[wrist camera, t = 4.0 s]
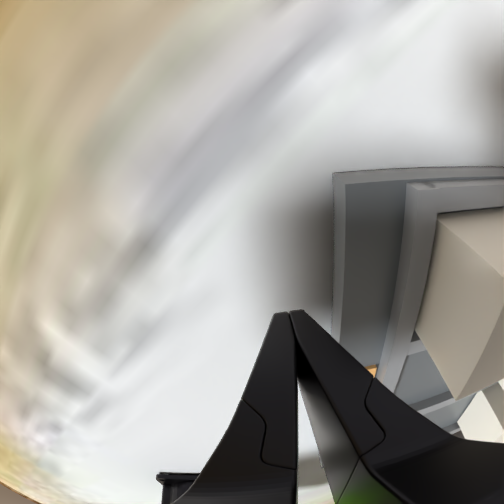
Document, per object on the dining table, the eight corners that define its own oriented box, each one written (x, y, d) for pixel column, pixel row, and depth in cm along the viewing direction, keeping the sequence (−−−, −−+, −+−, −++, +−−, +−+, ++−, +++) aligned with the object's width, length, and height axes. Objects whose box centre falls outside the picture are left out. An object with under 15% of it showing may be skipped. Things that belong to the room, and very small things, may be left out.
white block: (457, 421, 17) (475, 461, 14) (479, 387, 15) (504, 431, 11) (500, 400, 17) (519, 434, 14) (523, 365, 15) (547, 401, 11)
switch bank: (318, 454, 19) (322, 476, 17) (332, 173, 9) (353, 192, 8) (509, 386, 19) (518, 400, 17) (592, 173, 9) (612, 184, 7)
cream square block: (410, 323, 11) (455, 401, 7) (431, 214, 9) (510, 284, 5) (495, 298, 11) (542, 355, 7) (520, 205, 9) (588, 254, 5)
